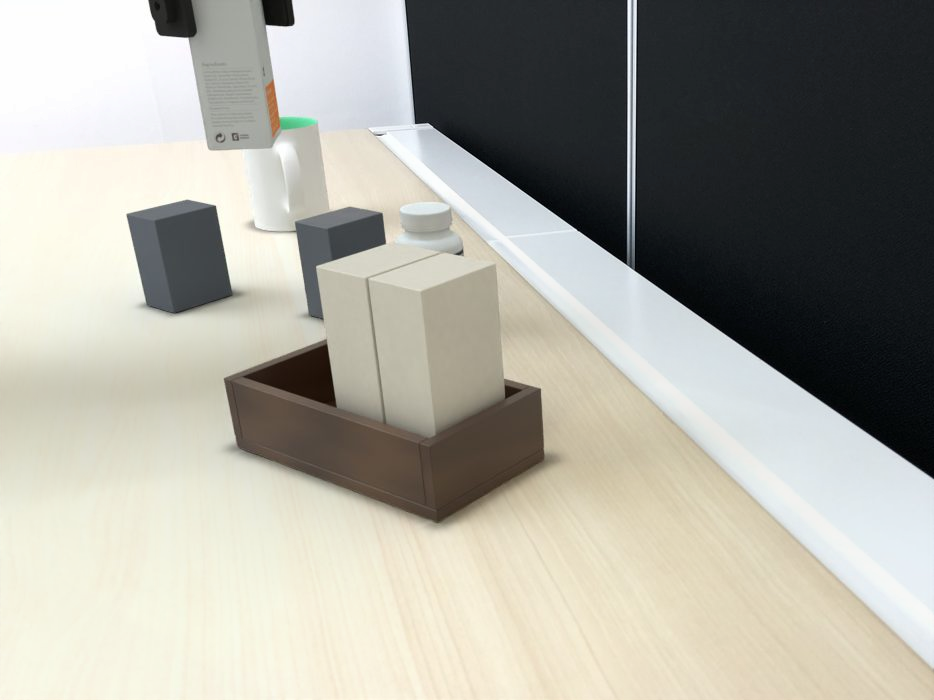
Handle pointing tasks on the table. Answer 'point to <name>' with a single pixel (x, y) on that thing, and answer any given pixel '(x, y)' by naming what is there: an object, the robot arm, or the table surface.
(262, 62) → the cosmetic box
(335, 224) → the grey block front
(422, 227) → the pill bottle
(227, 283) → the grey block back
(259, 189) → the mug
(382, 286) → the cream box
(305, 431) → the brown wooden open box
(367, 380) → the cream box
